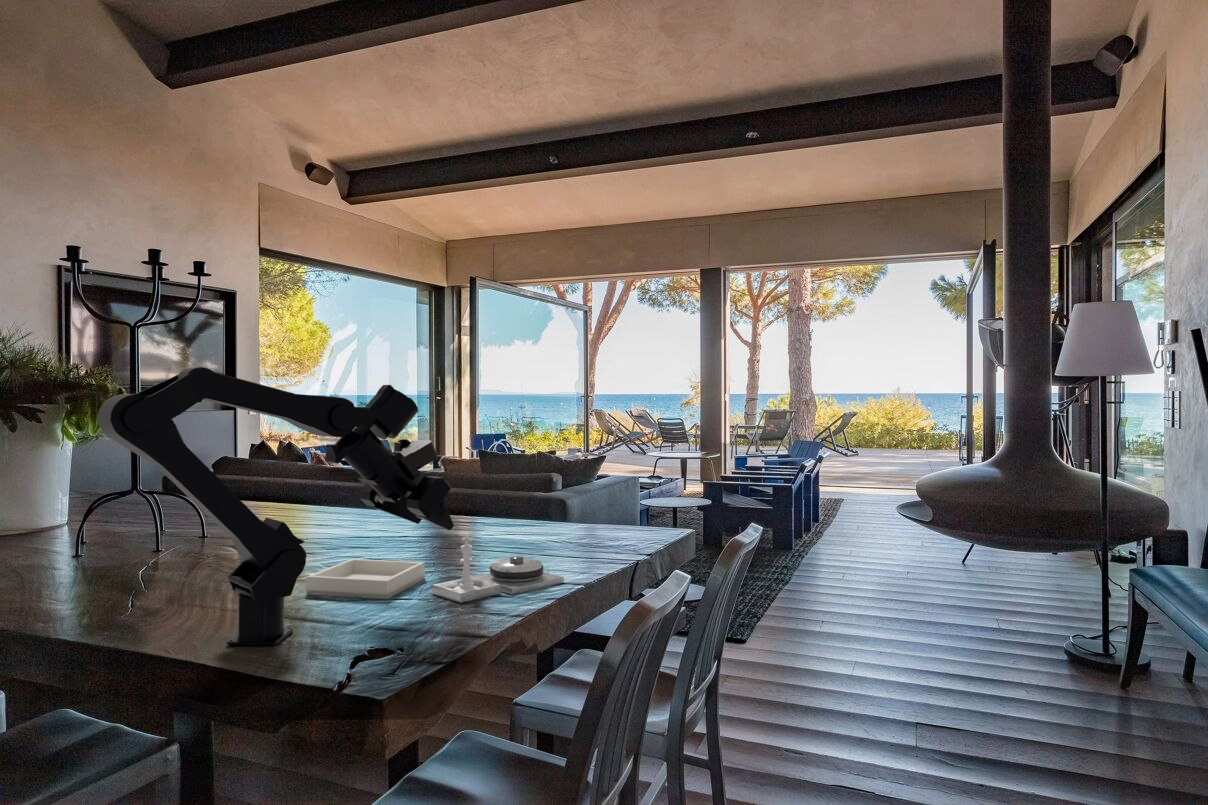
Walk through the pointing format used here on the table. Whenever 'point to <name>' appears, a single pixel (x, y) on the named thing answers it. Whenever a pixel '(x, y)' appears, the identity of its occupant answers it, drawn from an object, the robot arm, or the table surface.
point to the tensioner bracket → (501, 580)
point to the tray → (366, 578)
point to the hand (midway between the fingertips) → (435, 524)
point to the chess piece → (466, 567)
